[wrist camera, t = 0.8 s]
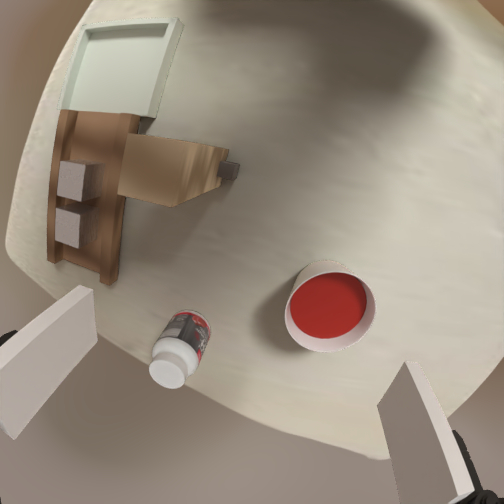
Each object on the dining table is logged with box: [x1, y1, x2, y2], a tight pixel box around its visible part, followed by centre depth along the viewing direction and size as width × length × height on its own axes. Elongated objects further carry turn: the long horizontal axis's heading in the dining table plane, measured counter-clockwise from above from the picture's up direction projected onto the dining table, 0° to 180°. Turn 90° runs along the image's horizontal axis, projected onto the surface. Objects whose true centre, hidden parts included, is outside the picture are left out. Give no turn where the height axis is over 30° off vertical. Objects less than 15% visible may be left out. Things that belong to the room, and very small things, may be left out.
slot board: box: [47, 109, 141, 286], centre depth 30 cm, size 20×11×3 cm, turn 166°
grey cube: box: [57, 159, 105, 202], centre depth 28 cm, size 4×4×4 cm
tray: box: [57, 17, 184, 118], centre depth 26 cm, size 12×14×2 cm
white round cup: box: [285, 260, 376, 352], centre depth 30 cm, size 9×9×6 cm
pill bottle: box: [149, 310, 211, 389], centre depth 31 cm, size 5×5×10 cm
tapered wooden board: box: [117, 133, 240, 207], centre depth 23 cm, size 4×7×14 cm, turn 76°
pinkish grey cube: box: [55, 202, 100, 249], centre depth 30 cm, size 4×4×4 cm
